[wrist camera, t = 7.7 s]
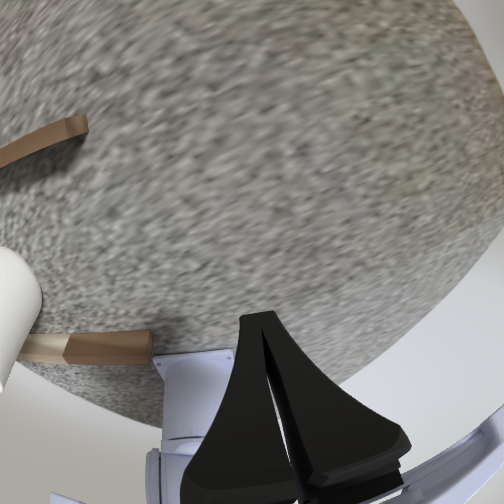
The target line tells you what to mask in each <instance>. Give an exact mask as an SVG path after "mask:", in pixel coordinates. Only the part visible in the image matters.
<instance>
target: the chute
mask: <svg viewBox="0 0 504 504" xmlns="http://www.w3.org/2000/svg"><path fill="white" fill-rule="evenodd" d="M87 132H89V130H88V124H87V117H86V115H81V116H74V117H69V118H64V119H61V120H59V121H56V122H54V123H52V124H49V125H47V126H45V127H43V128H40V129H38V130H36V131H34V132H32V133H30V134H28V135H26V136H24V137H22V138H20V139H18V140H16V141H14V142H12V143H10V144H8V145H6V146H5V147H3V148H1V149H0V168H2V167H4V166H6V165H8V164H10V163H12V162H14V161H16V160H18V159H20V158H23V157H25V156H27V155H29V154H31V153H34V152H36V151H38V150H41V149H43V148H46V147H48V146H51V145H53V144H56V143H58V142H61V141H64V140H66V139H69V138H72V137H75V136H78V135H81V134H84V133H87ZM153 340H154V338H153V336H152V334H151V331H150V330H137V331H122V332H104V333H78V334H28V335H27V337H26V339H25V341H24V343H23V345H22V348H21V350H20V352H19V354H18V356H17V358H16V360H23V361H33V362H44V363H59V364H81V365H132V364H150V361H151V353H152V346H153Z"/></svg>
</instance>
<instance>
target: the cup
mask: <svg viewBox="0 0 504 504" xmlns="http://www.w3.org/2000/svg"><path fill="white" fill-rule="evenodd" d="M41 306H42V293H41V288H40V285H39V282H38V280H37V278H36V276H35V274H34V272H33V271H32V269H31V268H30V266H29V265H28V264H27V262H26V261H25V260H24V259H23V258H22V257H21V256H20V255H18V254H17V253H16V252H14V251H13V250H11V249H9V248H7V247H3V246H0V393H2V392H3V390H4V387H5V384H6V382H7V379H8V377H9V374H10V372H11V369H12V367H13V365H14V363H15V360H16V358H17V356H18V354H19V352H20V350H21V348H22V345H23V343H24V341H25V339H26V337H27V335H28V333H29V331H30V330H31V328H32V326H33V324H34V322H35V320H36V318H37V316H38V314H39V312H40V309H41Z"/></svg>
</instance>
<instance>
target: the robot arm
mask: <svg viewBox="0 0 504 504" xmlns="http://www.w3.org/2000/svg"><path fill="white" fill-rule="evenodd" d="M239 321H240V329H239V339H238V345H237V351H236V356H235V360H234V356H233V352H232V350H230V349H224V350H215V351H207V352H197V353H187V354H175V355H162V356H154V357H153V360H152V361H153V363H154V365H155V367H156V368H157V370H158V372H159V374H160V375H161V377H162V379H163V381H164V382H165V387H164V404H163V428H162V440H161V452H159V449H158V448H153V449H152V451H150V452H148V453H147V456H146V472H145V478H146V479H145V482H146V499H147V504H293V503H295V501H296V500H298V504H369V503H371V502H374V501H376V500H378V499H381V498H383V497H386V496H388V495H390V494H392V493H394V492H396V491H398V490H400V489H403V490H402V493H401V494H400V495H399V496H396V497H393V498H391V499H389V500H386V501H384V502H382V503H379V504H465V503H466V502H467V501H468V500H469V499H470V498H471V497H472V496H473V495H474V494H476V493H477V492H478V491H479V490H480V489H481V488H482V487H483V486H484V485H485V483H487V482H488V481H489V479H490V478H491V477H492V476H493V475H494V474H495V473H496V472H497V471H498V470H499V468H500V467H501V466H502V465H503V464H504V404H503V405H502V406H501V407H500V408H499V409H498V410H497V411H496V412H494V413H493V414H492V415H491V416H489V417H488V418H487V419H486V420H485V421H484V422H483V423H481V424H480V426H479V427H477V428H476V429H475V430H473V431H472V432H471V433H469V434H468V435H466V436H465V437H464V438H462V439H461V440H460V441H458V442H457V443H455V444H453V445H452V446H450V447H449V448H447V449H446V450H444V451H443V452H441V453H440V454H438V455H436V456H435V457H433V458H431V459H430V460H428V461H426V462H424V463H422V464H421V465H419V466H417V467H415V468H413V469H411V470H409V471H407V472H405V473H403V474H400V472H399V469H398V468H400V467H401V465H400V462H399V460H398V459H399V458H400V457H402V456H403V455H404V454H406V453H407V452H408V451H409V450H410V449H411V447H412V445H411V443H410V441H409V439H408V437H407V435H406V434H405V432H404V431H403V429H402V428H401V426H400V425H398V424H396V423H394V422H392V421H390V420H388V419H387V418H385V417H383V416H381V415H379V414H377V413H376V412H374V411H373V410H371V409H369V408H368V407H366V406H364V405H363V404H362V403H360V402H359V401H357V400H356V399H355V398H353V397H352V396H350V395H349V394H348V393H346V392H345V391H344V390H342V389H341V388H340V387H339V386H337V385H336V384H335V383H334V382H333V381H332V380H330V379H329V378H328V377H327V376H326V375H325V374H324V373H323V372H322V371H321V370H320V369H319V368H318V367H317V366H316V365H315V364H314V363H313V362H312V361H311V360H310V359H309V358H308V357H307V355H306V354H305V353H304V352H303V351H302V350H301V348H300V347H299V346H298V345H297V344H296V342H295V341H294V340H293V338H292V337H291V336H290V334H289V333H288V332H287V330H286V329H285V327H284V326H283V324H282V323H281V321H280V320H279V318H278V316H277V314H276V312H274V311H273V310H272V311H266V312H260V313H253V314H247V315H242V316H241V317H239ZM266 373H267V374H266ZM267 377H268V380H269V383H270V386H271V389H272V392H273V395H274V399H275V402H276V405H277V408H278V411H279V414H280V418H281V422H282V427H283V431H284V436H285V441H286V445H287V450H288V455H289V459H290V462H289V459H288V455H287V452H286V449H285V445H284V442H283V438H282V434H281V431H280V427H279V423H278V420H277V416H276V412H275V408H274V404H273V400H272V396H271V392H270V388H269V384H268V380H267ZM290 464H291V466H290ZM50 504H85V503H83V502H80V501H77V500H74V499H71V498H68V497H65V496H62V495H59V494H56V493H54V492H51V493H50Z"/></svg>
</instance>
